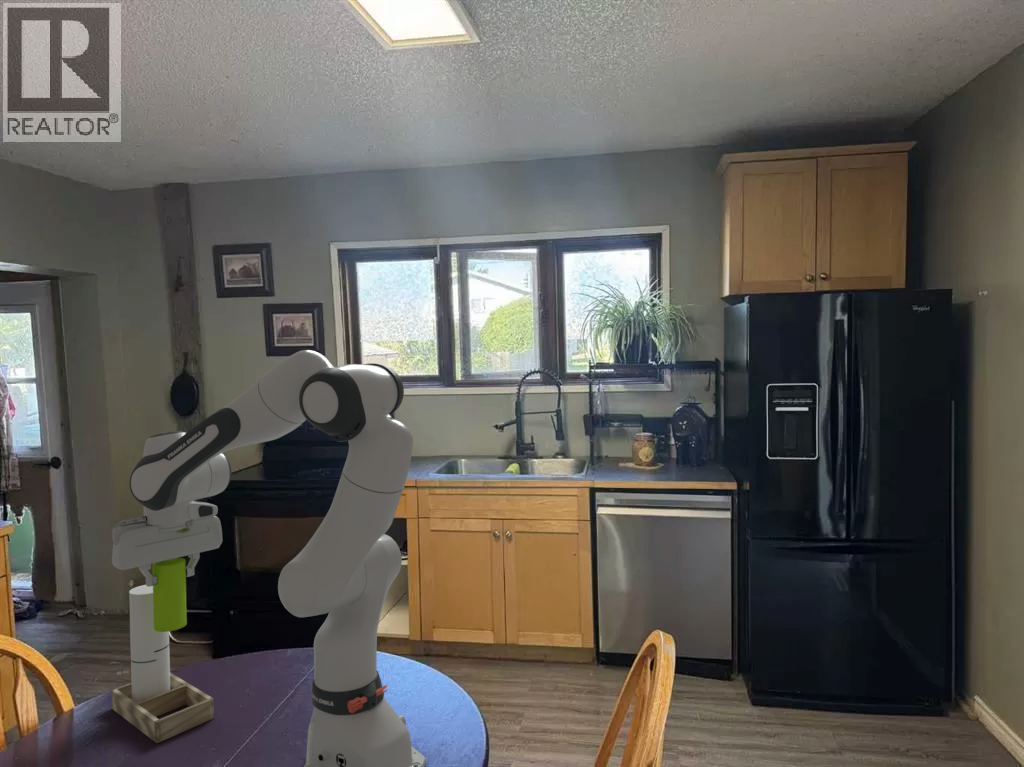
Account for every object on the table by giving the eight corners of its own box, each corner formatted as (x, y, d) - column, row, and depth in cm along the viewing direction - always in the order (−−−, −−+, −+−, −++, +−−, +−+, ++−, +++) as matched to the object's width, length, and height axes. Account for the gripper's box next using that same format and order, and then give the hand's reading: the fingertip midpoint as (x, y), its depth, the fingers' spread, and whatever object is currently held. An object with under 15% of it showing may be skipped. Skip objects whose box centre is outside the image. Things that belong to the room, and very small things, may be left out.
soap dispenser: (182, 631, 126) (180, 531, 126) (147, 632, 126) (145, 531, 126) (197, 620, 132) (195, 524, 132) (164, 620, 132) (162, 524, 132)
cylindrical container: (177, 703, 136) (174, 586, 136) (142, 718, 130) (139, 596, 130) (160, 694, 140) (157, 581, 140) (125, 708, 134) (122, 590, 134)
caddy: (214, 718, 130) (213, 698, 130) (156, 743, 121) (156, 722, 121) (166, 687, 143) (166, 670, 143) (111, 708, 134) (111, 689, 134)
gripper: (118, 524, 118) (120, 598, 119) (225, 505, 134) (226, 570, 135) (105, 520, 122) (107, 591, 122) (210, 502, 138) (212, 565, 139)
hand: (170, 580), depth 129 cm, fingers closed on soap dispenser, 6 cm apart
